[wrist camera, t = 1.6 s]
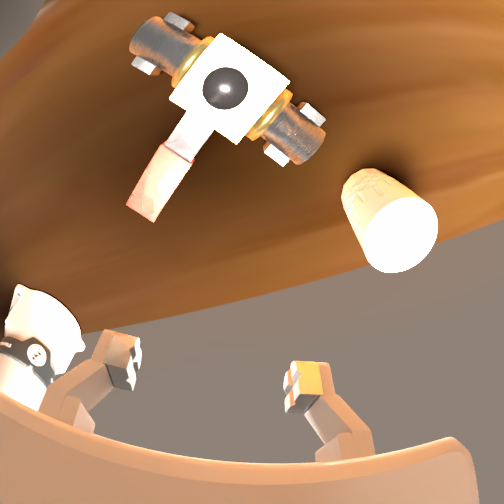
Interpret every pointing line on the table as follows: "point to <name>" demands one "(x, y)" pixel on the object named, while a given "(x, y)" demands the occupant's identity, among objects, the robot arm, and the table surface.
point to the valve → (254, 69)
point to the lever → (188, 140)
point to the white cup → (388, 220)
